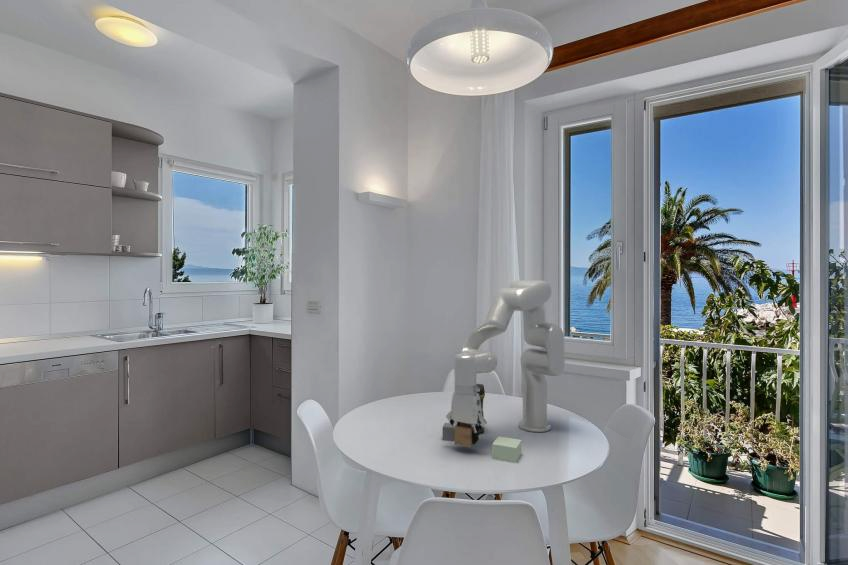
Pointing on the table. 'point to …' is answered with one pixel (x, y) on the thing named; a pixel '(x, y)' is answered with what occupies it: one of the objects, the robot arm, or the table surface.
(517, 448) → the sage block
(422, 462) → the table surface
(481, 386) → the coffee jar
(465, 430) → the walnut cube
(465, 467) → the table surface
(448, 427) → the charcoal block
